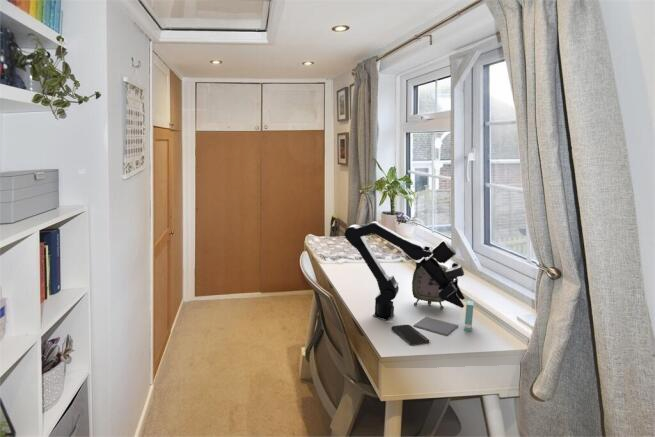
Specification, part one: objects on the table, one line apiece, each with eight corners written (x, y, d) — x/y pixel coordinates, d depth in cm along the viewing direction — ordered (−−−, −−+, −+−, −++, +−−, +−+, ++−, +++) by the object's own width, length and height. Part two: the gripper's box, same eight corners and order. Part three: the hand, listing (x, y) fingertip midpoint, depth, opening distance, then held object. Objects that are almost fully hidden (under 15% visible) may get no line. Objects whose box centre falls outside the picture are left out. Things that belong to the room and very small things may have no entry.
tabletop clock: (410, 307, 189) (414, 248, 185) (412, 300, 198) (416, 244, 194) (446, 312, 185) (451, 252, 181) (447, 304, 193) (452, 247, 189)
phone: (408, 324, 169) (430, 341, 155) (408, 327, 169) (430, 344, 155) (389, 326, 166) (410, 343, 152) (389, 329, 166) (410, 346, 153)
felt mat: (413, 326, 169) (413, 325, 169) (425, 317, 178) (425, 316, 178) (447, 335, 162) (447, 334, 161) (458, 326, 170) (458, 325, 170)
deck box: (464, 330, 167) (466, 304, 165) (464, 325, 172) (466, 300, 170) (471, 331, 166) (473, 305, 164) (471, 326, 171) (473, 301, 169)
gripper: (450, 263, 158) (481, 298, 156) (452, 252, 176) (480, 282, 174) (426, 282, 162) (456, 316, 160) (430, 269, 179) (457, 300, 178)
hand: (463, 303), depth 168 cm, fingers open, 9 cm apart
